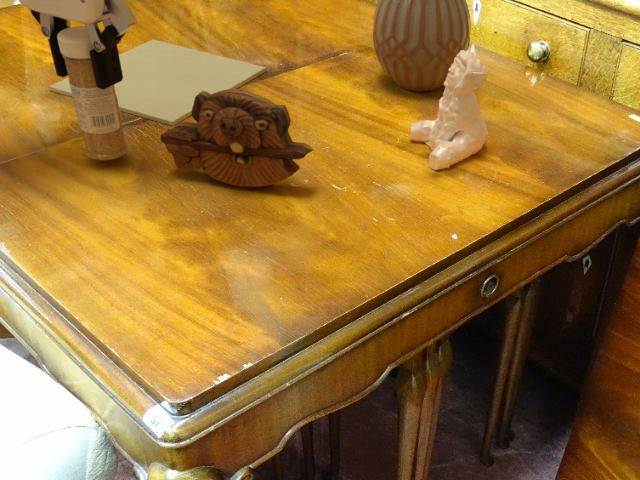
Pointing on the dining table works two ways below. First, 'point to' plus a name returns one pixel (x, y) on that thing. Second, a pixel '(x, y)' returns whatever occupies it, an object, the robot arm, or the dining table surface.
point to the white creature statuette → (455, 116)
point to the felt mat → (171, 80)
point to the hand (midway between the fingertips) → (90, 76)
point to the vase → (420, 40)
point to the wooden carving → (236, 139)
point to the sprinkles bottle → (92, 98)
